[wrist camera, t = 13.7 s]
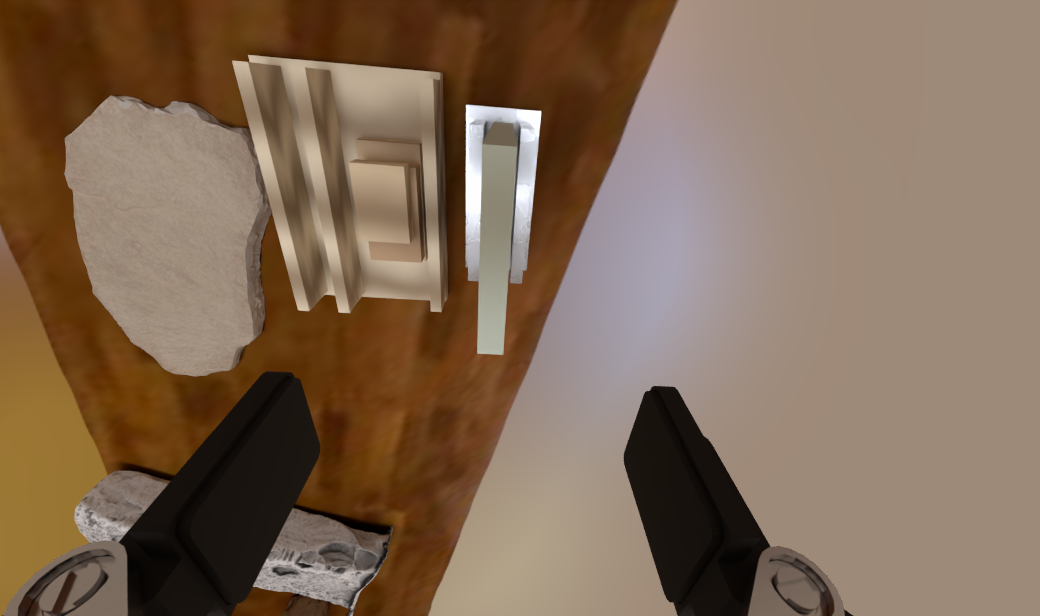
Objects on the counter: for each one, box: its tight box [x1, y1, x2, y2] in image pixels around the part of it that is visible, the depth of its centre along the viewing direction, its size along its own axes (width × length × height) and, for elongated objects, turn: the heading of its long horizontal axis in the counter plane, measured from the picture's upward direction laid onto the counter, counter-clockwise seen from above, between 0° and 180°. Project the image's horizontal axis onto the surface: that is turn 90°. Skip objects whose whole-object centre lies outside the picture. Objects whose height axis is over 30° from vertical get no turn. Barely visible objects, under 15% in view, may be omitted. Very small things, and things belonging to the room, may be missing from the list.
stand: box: [466, 104, 541, 284], centre depth 31 cm, size 14×6×6 cm, turn 176°
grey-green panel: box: [477, 122, 517, 355], centre depth 26 cm, size 12×2×15 cm, turn 176°
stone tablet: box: [64, 96, 272, 376], centre depth 36 cm, size 16×30×2 cm, turn 157°
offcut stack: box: [348, 138, 428, 263], centre depth 31 cm, size 10×5×4 cm, turn 176°
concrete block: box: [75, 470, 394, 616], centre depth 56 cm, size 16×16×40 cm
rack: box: [232, 55, 448, 313], centre depth 31 cm, size 20×14×6 cm
